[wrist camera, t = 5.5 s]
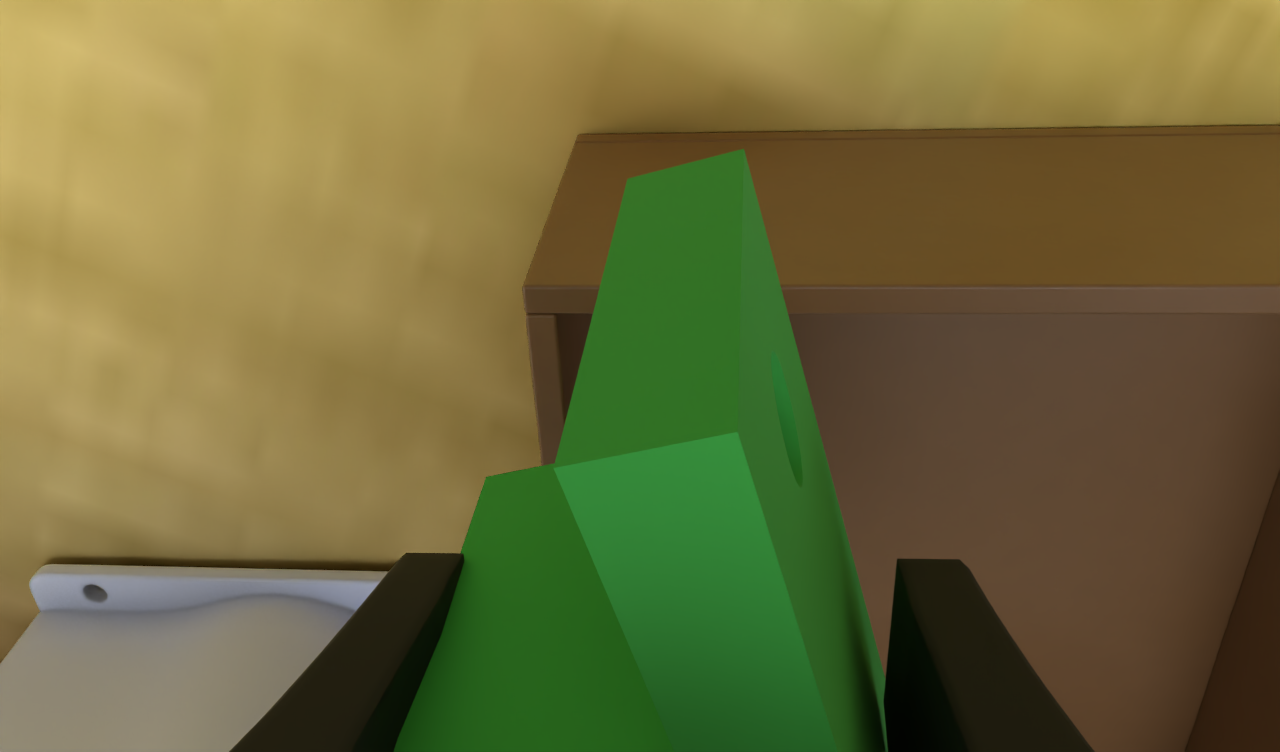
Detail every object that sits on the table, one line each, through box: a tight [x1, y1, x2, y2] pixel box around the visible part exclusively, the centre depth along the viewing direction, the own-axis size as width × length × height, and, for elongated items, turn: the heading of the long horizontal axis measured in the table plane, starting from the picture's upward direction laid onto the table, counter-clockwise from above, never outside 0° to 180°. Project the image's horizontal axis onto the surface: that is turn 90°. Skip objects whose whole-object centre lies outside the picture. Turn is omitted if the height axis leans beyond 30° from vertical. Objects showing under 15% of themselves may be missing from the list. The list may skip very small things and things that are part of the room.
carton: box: [522, 125, 1280, 752], centre depth 19 cm, size 13×16×5 cm
